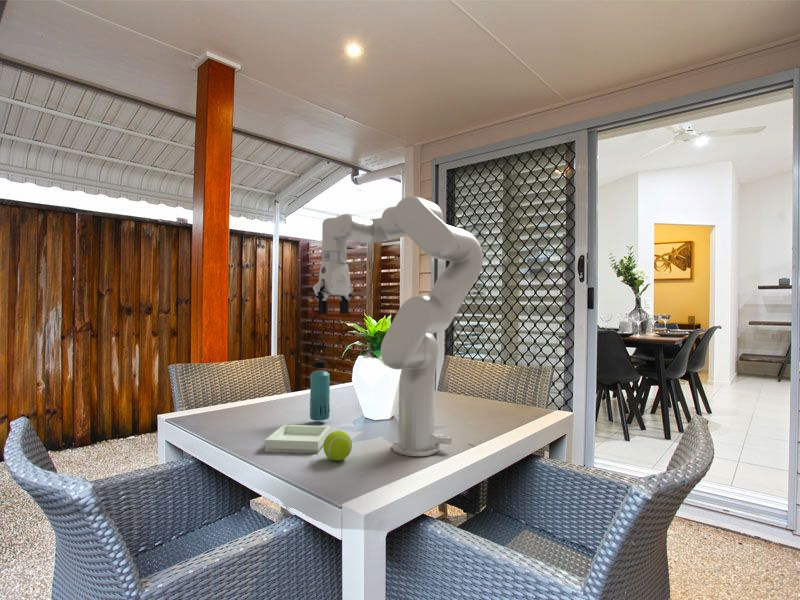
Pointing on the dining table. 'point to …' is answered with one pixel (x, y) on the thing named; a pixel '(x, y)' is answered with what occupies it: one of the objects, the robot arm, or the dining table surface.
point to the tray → (297, 439)
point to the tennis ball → (337, 445)
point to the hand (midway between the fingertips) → (333, 314)
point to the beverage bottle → (319, 393)
